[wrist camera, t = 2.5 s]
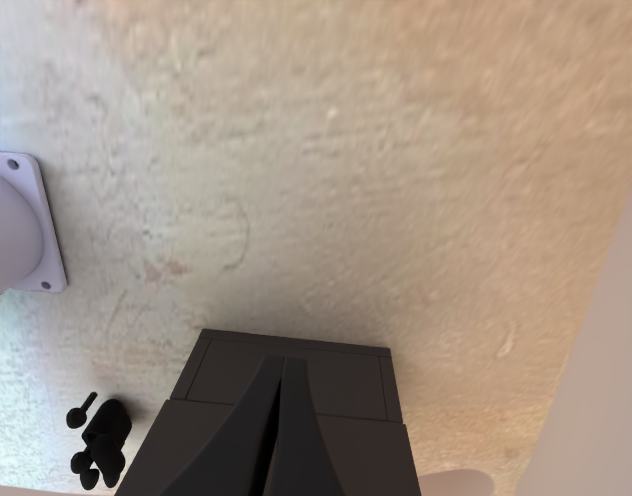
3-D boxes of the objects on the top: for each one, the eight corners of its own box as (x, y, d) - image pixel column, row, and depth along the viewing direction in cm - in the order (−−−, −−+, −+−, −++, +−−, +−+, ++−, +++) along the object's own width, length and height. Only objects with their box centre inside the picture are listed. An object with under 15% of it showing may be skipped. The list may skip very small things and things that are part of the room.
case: (365, 453, 28) (371, 534, 23) (208, 437, 28) (182, 514, 23) (390, 348, 24) (403, 422, 19) (202, 328, 24) (169, 397, 19)
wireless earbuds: (90, 374, 26) (39, 442, 21) (125, 371, 26) (80, 439, 21) (128, 443, 29) (90, 514, 24) (160, 441, 29) (127, 513, 24)
